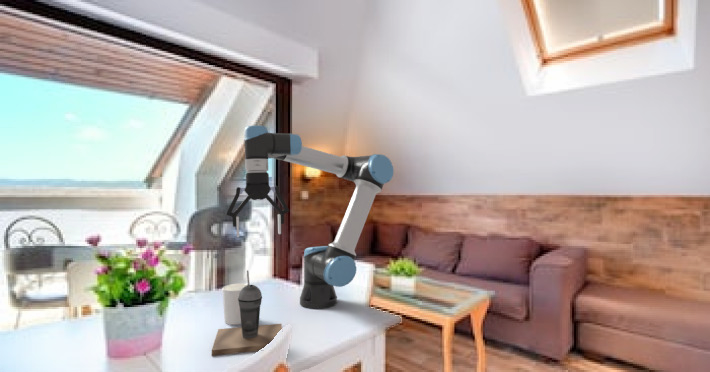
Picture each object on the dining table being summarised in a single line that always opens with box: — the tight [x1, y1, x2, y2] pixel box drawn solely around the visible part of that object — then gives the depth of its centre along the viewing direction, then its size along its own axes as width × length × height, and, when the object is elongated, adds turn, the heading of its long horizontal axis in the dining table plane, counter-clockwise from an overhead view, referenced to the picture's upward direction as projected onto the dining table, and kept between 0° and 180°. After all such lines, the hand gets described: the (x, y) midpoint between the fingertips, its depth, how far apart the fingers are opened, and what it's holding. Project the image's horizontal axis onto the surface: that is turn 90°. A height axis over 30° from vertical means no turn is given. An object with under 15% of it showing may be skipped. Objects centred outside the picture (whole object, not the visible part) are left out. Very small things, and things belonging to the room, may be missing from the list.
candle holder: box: [221, 282, 248, 326], centre depth 131 cm, size 10×10×12 cm
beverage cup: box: [238, 270, 263, 339], centre depth 114 cm, size 7×7×20 cm
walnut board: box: [211, 323, 283, 356], centre depth 114 cm, size 20×16×2 cm
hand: (259, 235), depth 125 cm, fingers open, 13 cm apart
